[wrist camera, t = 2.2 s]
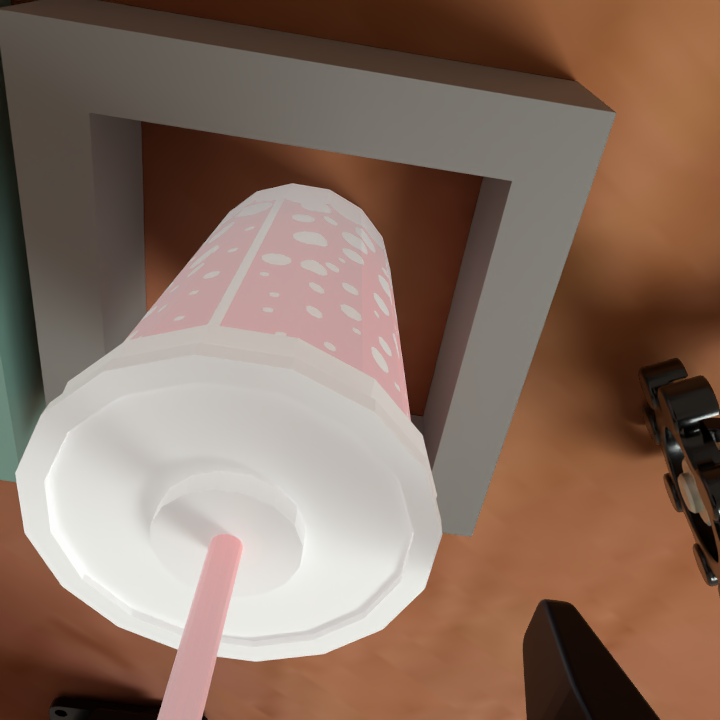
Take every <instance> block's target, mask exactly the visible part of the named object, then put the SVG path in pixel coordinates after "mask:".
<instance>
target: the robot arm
mask: <svg viewBox="0 0 720 720" xmlns="http://www.w3.org/2000/svg"><path fill="white" fill-rule="evenodd" d="M523 664H524V680H525V697H526V714H527V720H660V719H659V717H658V716H657V715H656V713H655V712H654V711H653V709H652V708H651V707H650V705H649V704H648V703H647V701H646V700H645V699H644V697H643V696H642V695H641V694H640V692H639V691H638V690H637V688H636V687H635V686H634V684H633V683H632V682H631V680H630V679H629V678H628V676H627V675H626V674H625V672H624V671H623V670H622V668H621V667H620V666H619V665H618V663H617V662H616V661H615V659H614V658H613V657H612V655H611V654H610V653H609V651H608V650H607V649H606V647H605V646H604V645H603V643H602V642H601V641H600V639H599V638H598V637H597V636H596V634H595V633H594V632H593V630H592V629H591V628H590V626H589V625H588V624H587V622H586V621H585V620H584V618H583V617H582V616H581V614H580V613H579V612H578V610H577V609H576V608H575V607H574V606H573V605H572V604H570V603H568V602H565V601H557V600H550V599H544V600H542V601H541V602H540V603H539V604H538V606H537V608H536V610H535V613H534V615H533V617H532V619H531V621H530V624H529V626H528V628H527V630H526V633H525V636H524V640H523ZM159 712H160V709H156V708H148V707H140V706H132V705H123V704H115V703H107V702H99V701H91V700H83V699H74V698H66V697H58V698H55V699H54V700H53V702H52V704H51V707H50V709H49V715H50V720H157V718H158V715H159ZM202 720H208V719H207V718H206V717H205V716H202Z"/></svg>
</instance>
